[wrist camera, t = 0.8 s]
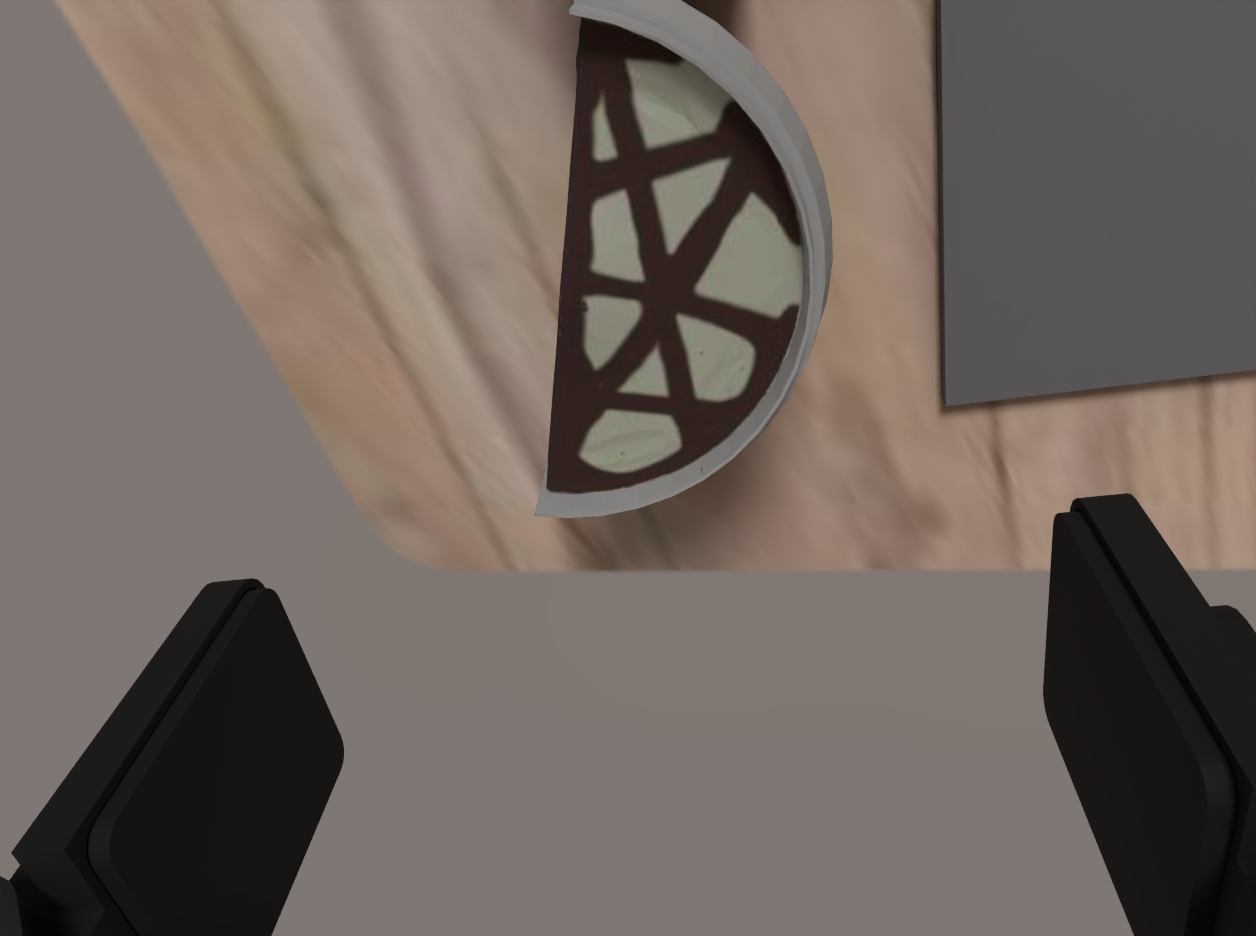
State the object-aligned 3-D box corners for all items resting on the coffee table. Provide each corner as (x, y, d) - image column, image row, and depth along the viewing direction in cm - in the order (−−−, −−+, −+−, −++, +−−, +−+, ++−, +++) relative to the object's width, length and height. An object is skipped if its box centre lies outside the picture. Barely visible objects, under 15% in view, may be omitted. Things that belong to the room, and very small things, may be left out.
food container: (763, 386, 32) (781, 567, 24) (580, 362, 32) (532, 534, 24) (846, -25, 26) (912, 19, 17) (617, -54, 26) (571, -24, 17)
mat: (1572, -305, 22) (1593, -310, 21) (1410, 342, 30) (1422, 350, 29) (933, -173, 24) (939, -175, 23) (942, 398, 32) (945, 406, 31)
